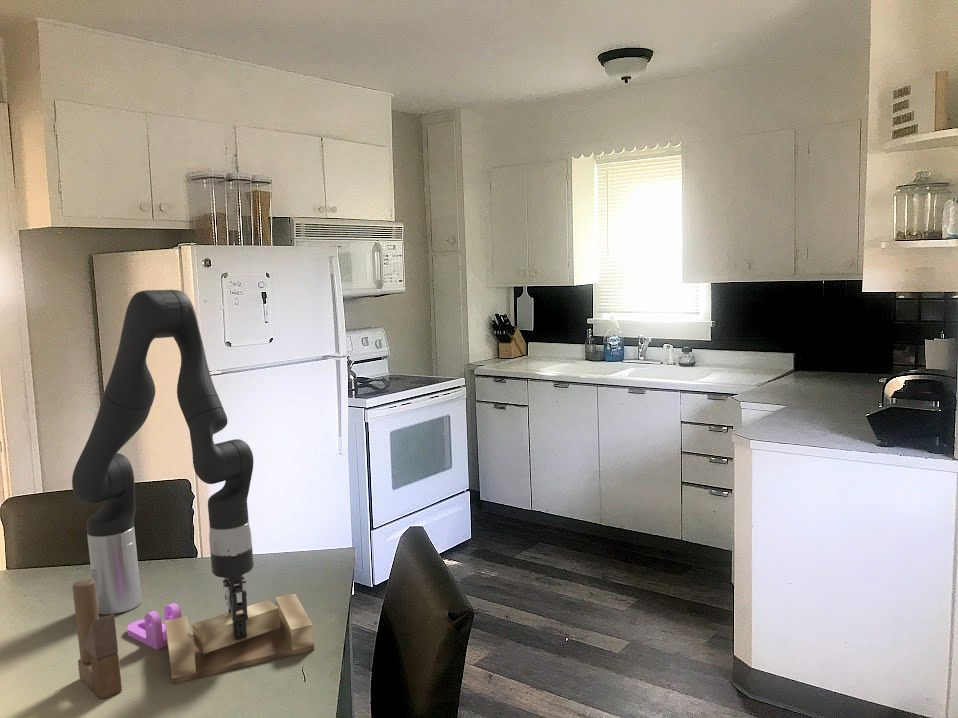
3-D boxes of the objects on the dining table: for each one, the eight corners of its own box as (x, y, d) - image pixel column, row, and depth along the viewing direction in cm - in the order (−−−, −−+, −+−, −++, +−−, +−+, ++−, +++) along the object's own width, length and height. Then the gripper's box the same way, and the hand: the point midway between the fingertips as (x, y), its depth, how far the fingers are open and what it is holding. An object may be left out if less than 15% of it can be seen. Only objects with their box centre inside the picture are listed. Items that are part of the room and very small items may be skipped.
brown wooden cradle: (172, 684, 139) (170, 657, 138) (167, 645, 153) (164, 620, 153) (314, 649, 149) (312, 624, 148) (296, 616, 164) (295, 593, 163)
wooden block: (101, 700, 135) (90, 599, 132) (79, 678, 142) (68, 582, 140) (123, 691, 137) (112, 592, 135) (100, 670, 145) (90, 576, 143)
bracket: (183, 639, 156) (180, 605, 155) (157, 650, 152) (153, 616, 151) (148, 622, 164) (145, 590, 163) (122, 633, 160) (119, 600, 159)
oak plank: (203, 653, 144) (202, 633, 144) (194, 644, 148) (192, 624, 148) (280, 627, 154) (278, 607, 153) (269, 619, 158) (267, 599, 157)
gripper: (206, 538, 154) (213, 621, 156) (214, 563, 141) (222, 652, 143) (246, 531, 157) (252, 612, 159) (257, 555, 144) (264, 643, 146)
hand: (238, 631), depth 151 cm, fingers closed on oak plank, 5 cm apart
